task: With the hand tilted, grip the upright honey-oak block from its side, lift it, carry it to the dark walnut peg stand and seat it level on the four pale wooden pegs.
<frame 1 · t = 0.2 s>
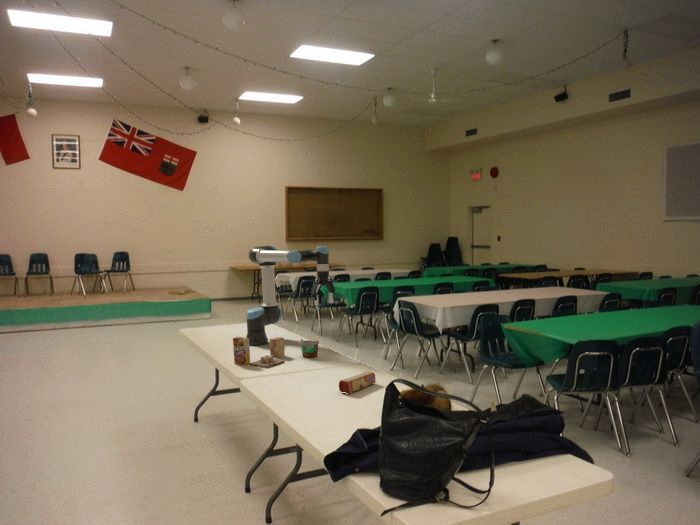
hand: (323, 304, 348), 28 cm above the table, tool pointing down, fingers open, 13 cm apart
food container: (308, 357, 326), on the table
candy box: (242, 364, 315), on the table
snack package: (357, 389, 261), on the table
peg stand: (267, 363, 313), on the table
oak block: (277, 356, 330), on the table
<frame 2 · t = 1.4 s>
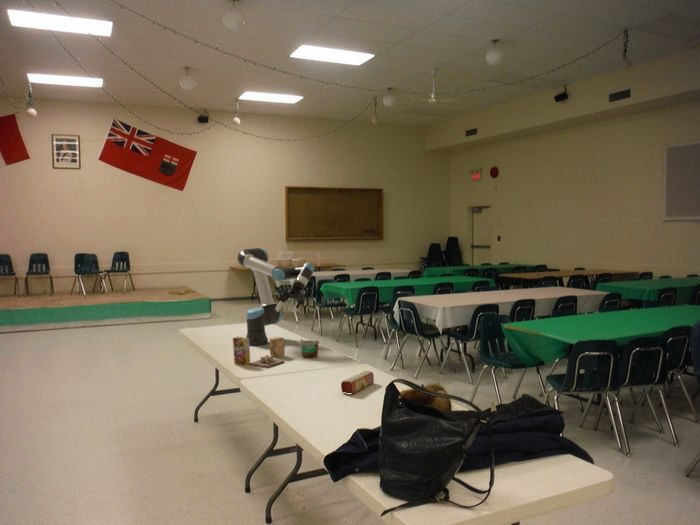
hand: (285, 311, 338), 26 cm above the table, tool tilted 45°, fingers open, 13 cm apart
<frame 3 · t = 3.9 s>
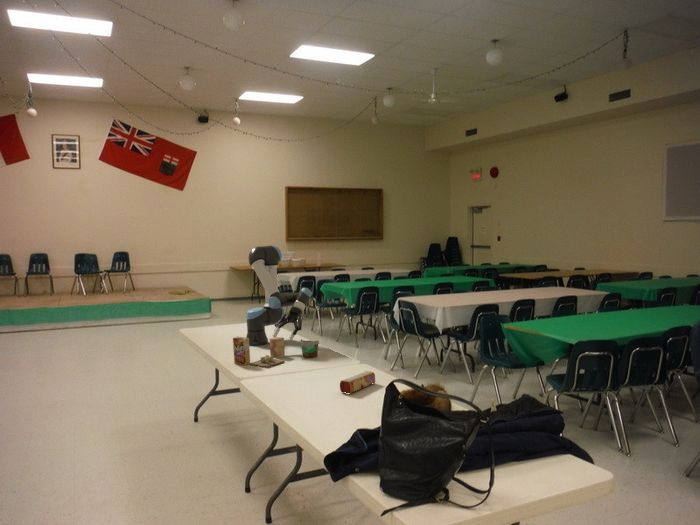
hand: (282, 338, 333), 10 cm above the table, tool tilted 45°, fingers open, 13 cm apart
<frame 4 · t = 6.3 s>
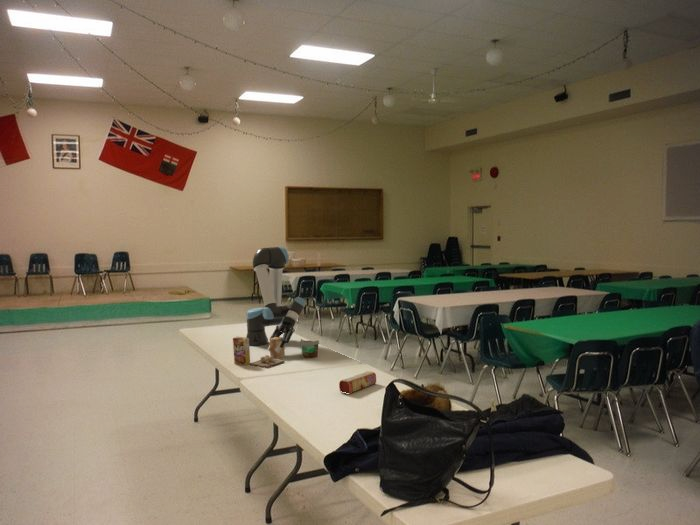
hand: (273, 351, 327), 4 cm above the table, tool tilted 45°, fingers closed on oak block, 6 cm apart
oak block: (277, 356, 330), on the table, touching gripper
everything else where it was.
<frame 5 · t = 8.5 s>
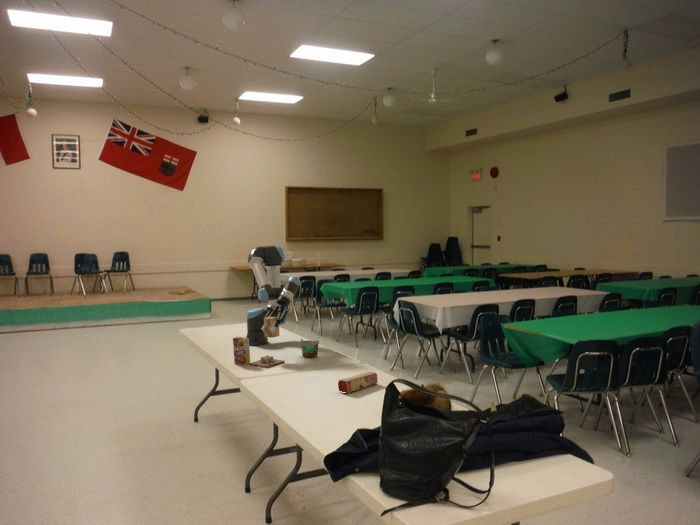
hand: (267, 330, 317), 18 cm above the table, tool tilted 45°, fingers closed on oak block, 6 cm apart
oak block: (272, 336, 320), point 14 cm above the table, touching gripper
when the fingers open (9 cm above the table, at t = 10.9 s): oak block stays where it is, resting on peg stand.
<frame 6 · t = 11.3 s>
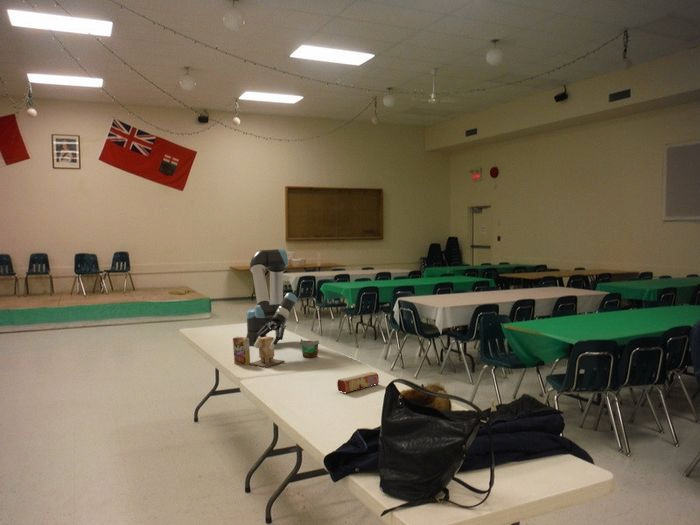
hand: (262, 348, 311), 10 cm above the table, tool tilted 45°, fingers open, 11 cm apart
oak block: (266, 356, 313), point 4 cm above the table, touching peg stand
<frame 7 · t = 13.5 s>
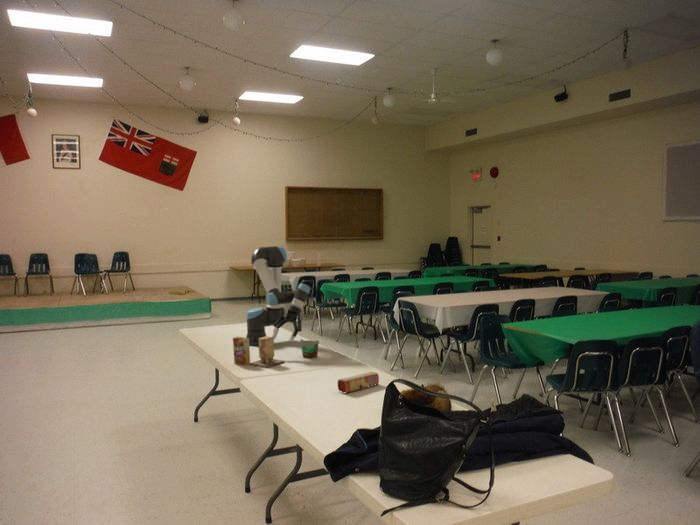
hand: (281, 339, 322), 12 cm above the table, tool tilted 35°, fingers open, 13 cm apart
nothing on the table moved.
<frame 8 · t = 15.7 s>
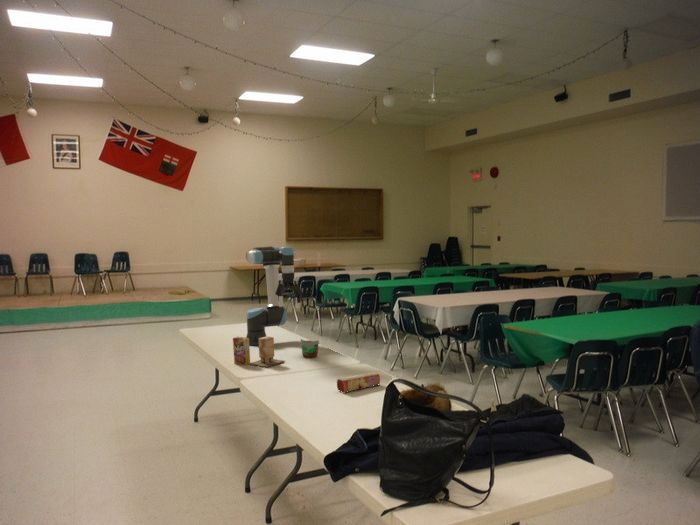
hand: (289, 307, 333), 29 cm above the table, tool pointing down, fingers open, 13 cm apart
at the end: oak block 0.1 cm off-centre on the peg stand, point 4.0 cm above the peg stand's base; oak block touching peg stand; oak block tilted 0° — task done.
